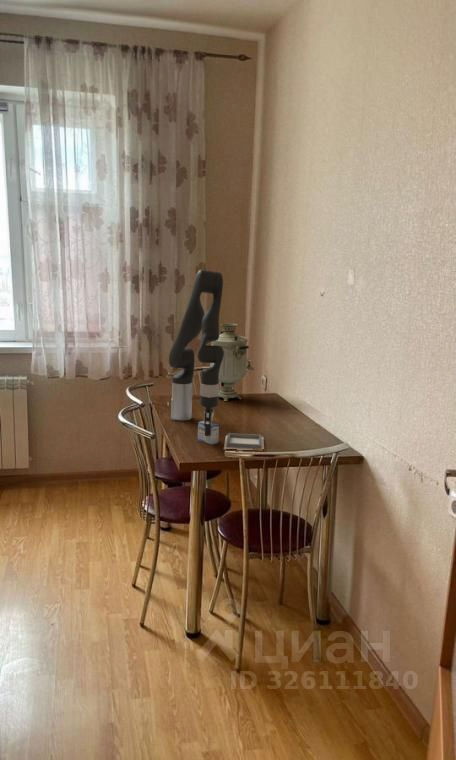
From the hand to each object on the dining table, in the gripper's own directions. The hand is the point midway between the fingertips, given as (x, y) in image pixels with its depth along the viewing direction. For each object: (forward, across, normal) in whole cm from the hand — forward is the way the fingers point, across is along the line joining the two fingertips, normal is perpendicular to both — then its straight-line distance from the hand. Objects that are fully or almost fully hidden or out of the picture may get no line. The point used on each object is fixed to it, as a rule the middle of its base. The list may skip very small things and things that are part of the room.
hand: (208, 432), depth 250 cm
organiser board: (+4, 0, +15) cm, 16 cm away
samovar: (+5, -78, +7) cm, 78 cm away
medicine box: (+5, 0, 0) cm, 5 cm away
